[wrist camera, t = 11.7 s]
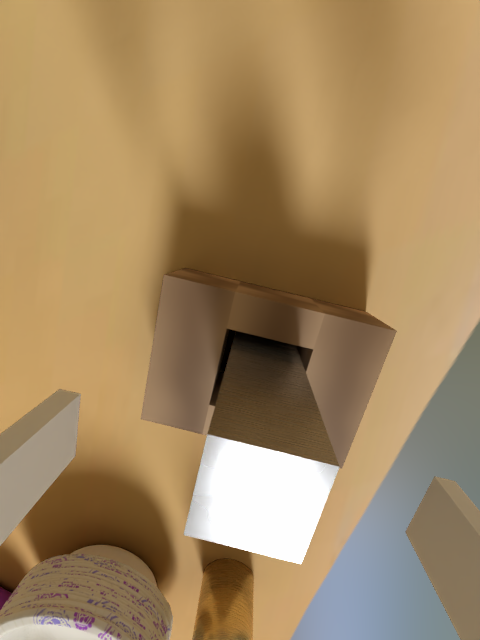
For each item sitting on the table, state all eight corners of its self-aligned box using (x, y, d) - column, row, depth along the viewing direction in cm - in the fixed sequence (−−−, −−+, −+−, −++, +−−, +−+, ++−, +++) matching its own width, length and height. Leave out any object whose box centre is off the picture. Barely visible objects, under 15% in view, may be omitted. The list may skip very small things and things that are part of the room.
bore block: (164, 384, 24) (140, 419, 19) (185, 267, 22) (163, 274, 17) (325, 423, 24) (341, 468, 19) (366, 311, 22) (396, 330, 17)
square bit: (227, 367, 23) (183, 534, 10) (239, 319, 22) (207, 434, 9) (277, 379, 23) (301, 563, 10) (291, 332, 22) (339, 466, 9)
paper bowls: (182, 529, 28) (153, 636, 21) (180, 634, 32) (156, 756, 25) (34, 512, 29) (-47, 608, 21) (50, 617, 33) (-13, 729, 25)
